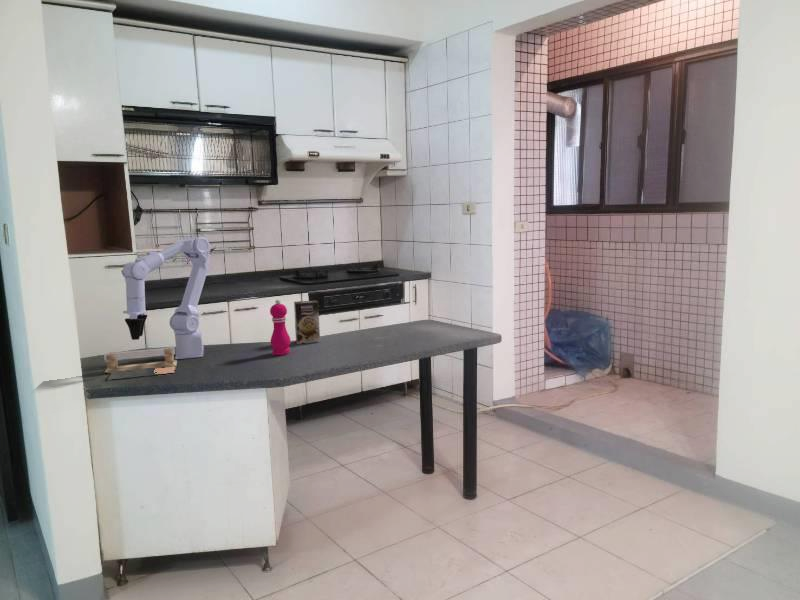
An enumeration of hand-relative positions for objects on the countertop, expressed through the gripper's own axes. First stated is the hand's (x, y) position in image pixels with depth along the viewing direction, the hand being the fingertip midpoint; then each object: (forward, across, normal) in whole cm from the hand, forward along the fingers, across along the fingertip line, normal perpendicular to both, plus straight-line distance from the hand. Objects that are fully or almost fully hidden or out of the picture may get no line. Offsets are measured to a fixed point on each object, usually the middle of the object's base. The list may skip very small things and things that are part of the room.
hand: (137, 337), depth 199 cm
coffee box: (+7, -17, +60) cm, 63 cm away
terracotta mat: (+11, +8, +2) cm, 14 cm away
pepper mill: (+8, -1, +48) cm, 49 cm away
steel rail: (+7, 0, +1) cm, 7 cm away
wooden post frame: (+11, 0, +1) cm, 11 cm away
